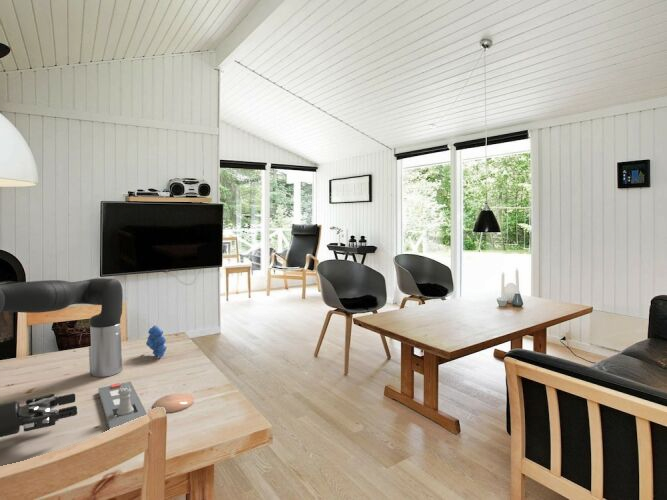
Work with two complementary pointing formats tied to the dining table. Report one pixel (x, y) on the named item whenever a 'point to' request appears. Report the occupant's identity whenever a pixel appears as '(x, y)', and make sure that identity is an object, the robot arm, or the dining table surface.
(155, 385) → the dining table surface
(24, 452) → the dining table surface
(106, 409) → the power strip
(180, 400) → the peach dome
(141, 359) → the dining table surface
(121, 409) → the rook chess piece
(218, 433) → the dining table surface
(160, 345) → the grapes
